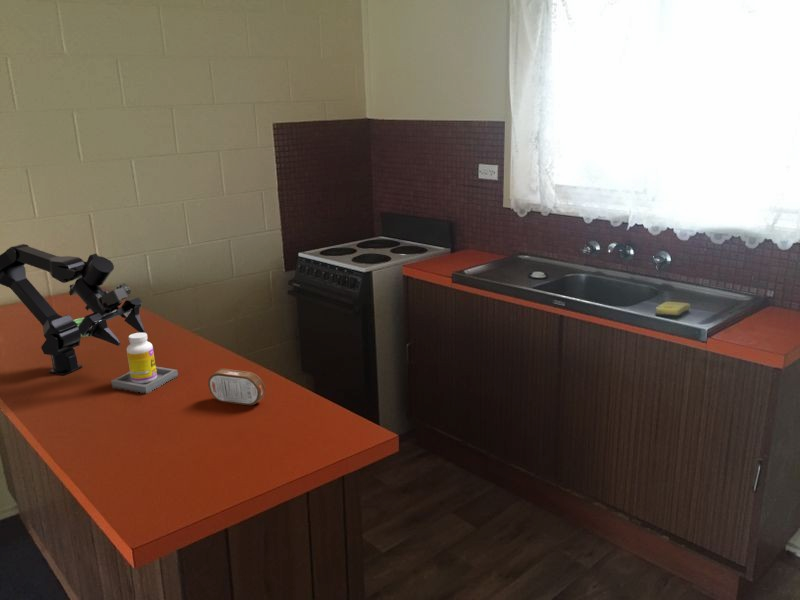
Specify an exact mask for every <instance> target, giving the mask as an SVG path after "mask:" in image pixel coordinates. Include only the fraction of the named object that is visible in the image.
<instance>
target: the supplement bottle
mask: <svg viewBox="0 0 800 600" xmlns="http://www.w3.org/2000/svg"><path fill="white" fill-rule="evenodd" d="M128 341H129V344H128V345H127V347H126V355H127V361H128V367H129V368H128V369H129V372H130V375H131V380H132V382H133V383H137V384H144V383H149V382H152V381H154V380H155V379H156V378H157V371H156V367H157V365H156V360H155V359H156V358H155V353H154V346H153V343H151V342H150V341H148V333H146V332H145V333H140V332H136V333H131V334H130V335H128Z"/></svg>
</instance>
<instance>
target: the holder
mask: <svg viewBox="0 0 800 600" xmlns="http://www.w3.org/2000/svg"><path fill="white" fill-rule="evenodd" d="M156 371H157V378H156V379H155V380H154V381H152V382H149V383H144V384H137V383H133V382H132V380H131V375H130V371H128V372H126V373H123V375H120V376H118V377H116V378H114V379H111V380H110V381H111V387H112V389H116V388H117V389H118V390H122V389H123V390H122V391H127V390H130V391H129V392H133V391H134V393H138V392H140V393H139V394H144V393H146V394H145V395H147V393H148V394H150V393H151V392H153V391H155V390H157V389H158V388H160V387H162V386H163V384H164V385H165V383H166V382H168V381H169V382H171V381H173V380H175V379H177V378H178V377H179V373H178V369H174V368H168V367H167V368H166V367H161V366H156ZM177 376H178V377H177ZM176 377H177V378H176ZM174 378H175V379H174ZM172 379H173V380H172ZM170 380H171V381H170ZM169 382H168V383H169ZM166 384H167V383H166ZM161 385H162V386H161ZM156 388H157V389H156ZM154 389H155V390H154ZM152 390H153V391H152Z"/></svg>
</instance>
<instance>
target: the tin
mask: <svg viewBox="0 0 800 600" xmlns="http://www.w3.org/2000/svg"><path fill="white" fill-rule="evenodd" d="M207 382H208V383H207V384H208V389H209V392H210V394H211V395H212V396H213V397H214V398H215V399H216V400H217V401H219V402H222V403H230V404H236V405H243V406H254V405H255V404H257V403H258V402H259V401H261V400H263V398H264V396H265V394H266V387H265V384H264V382H263V380H262V379H261V378H260V376H258V375H257V374H256V373H254V372H251V371H244V370H235V369H230V368H219V369H217V370H216V371H214V372H213V374H211V375H210V376H209V378H208V381H207Z"/></svg>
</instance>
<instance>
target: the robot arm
mask: <svg viewBox="0 0 800 600" xmlns="http://www.w3.org/2000/svg"><path fill="white" fill-rule="evenodd" d="M25 265H28V266H31V267H34V268H37V269H38V270H39V269H40V270H43V271H45V272H47V273H49V274H50V276H51V277H52V278H53V279H55V280H57V281H58V282H60V283H61V284H62V283H63V284H66V283H69V282H72V281H74V283H73V284H70V285H69V291H68V293H69V296H73V295H77V296H78V297H79V298H80V300H81V301H82V302H83V303H84V304H85V307H84V308H85V310H87V312H88V311H90V310H91V312H92V313H91V314H90V313H89V314H87V315H86V316H84V317H83V318H84V319H83V320H82V322H81V323H80V325H79V326H77V325H78V324H77V323H75V322H74V320H75V319H73V318H72V316H71V315H69V314H65V315H63V316H62V315H61V314H58V312H57V311H56V310H55V309H54V308H53V307H52V305H51V304H50V303H49V302H48V301H47V300H46V299H45V297H44V296H43V294H41V293H40V292H39V291H38V290H37V287H35V286H34V285H33V284H32V282H31V281H30V280H29V279H28V277H27V276H26V275H27V274H26V267H25ZM114 268H115V266H114V263H113V261H111V260H110V259H109V258H106V257H104V256H101V255H100V256H99V254H97V253H92V254H90V255H89V256H88V258H87V261H85V260H84V259H82V258H80V257H78V256H70V255H69V256H68V255H66V256H59V255H55V254H53V253H50V252H47V251H43V250H40V249H38V248H34V247H31V246H30V245H28V244H24V243H21V244H17V245H12V246H10V247H9V248H7V249H6V250H5V251H4V252H2V253H1V254H0V285H1V286H4V287H6V288H9V289H11V291H12V292H13V293H14V294H15V295H16V297H17V298H18V299H19V300H20V301H21V302H22V303H23V305H24V306H25V307H26V308H27V309H28V310H29V311H30V313H31V314H32V315H33V316H34V317H35V318H36V319H37V321H38V322H39V323H40V324H41V325H42V329H43V332H42V333H43V337H44V338H45V341H44V342H43V343H42V345H41V346H40V349H41V350H42V352H43V355H47V356H50V360H51V362H52V363H51V364H52V368H51V369H49V370H48V373H49V374H50V373H51V374H56V375H60V376H61V375H62V376H65V375H66V376H67V375H68V374H70V373H72V372H74V371H77V370H79V369H81V368H83V365H82V364H79V363H78V357H77V354H76V349H75V348H76V347H79V346H81V345H80V344H81V338H82V337H81V334H82V335H83V336H86V335H88V336H87V337H93V338H97V339H100V340H102V341H105V342H107V343H109V344H112V345H115V346H117V347H118V346H120V345H121V341H120V340H119V339H118V337H117V336H116V335H115V333H114V332H113V331H112V330H111V329H110V328H109V326H108V323H107V322H108V321H109V320H113V319H115V318H117V317H120V316H121V318H124V322H125V323H127V325H129V326H130V327H132V328H133V329H134V330H136V331H137V333H146V330H145V327H144V324H143V322H142V319H141V316H140V309H142V305H143V304H144V302H143V301H142V300H141V298H140V297H137V296H134V297H131V298H130V296H129V295H130V294H131V293H132V291H131V289H130V287H129V286H128V285H127V284H126V283H122V284H119V285H117V286H116V289H114V290H113V289H112V290H111V291H110V290H108V289H106V290H104V289H103V288H102V287H101V286H103V285H104V284H105V283H106V281H107V280H108V278H109V277H110V275H111V273H112V272H113V271H114V270H115V269H114ZM125 299H127V300H125ZM123 300H125V301H124V302H122V301H123ZM122 303H123V304H122ZM119 306H120V307H119Z"/></svg>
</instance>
